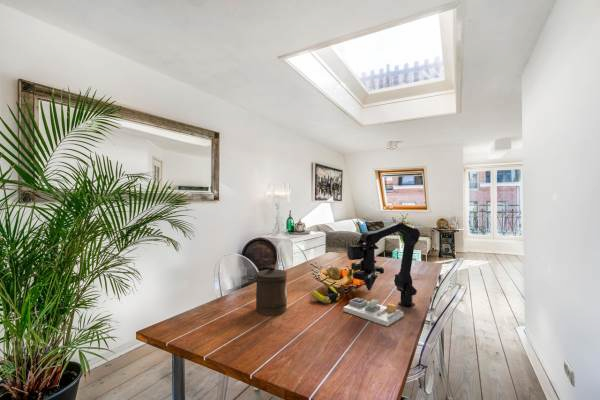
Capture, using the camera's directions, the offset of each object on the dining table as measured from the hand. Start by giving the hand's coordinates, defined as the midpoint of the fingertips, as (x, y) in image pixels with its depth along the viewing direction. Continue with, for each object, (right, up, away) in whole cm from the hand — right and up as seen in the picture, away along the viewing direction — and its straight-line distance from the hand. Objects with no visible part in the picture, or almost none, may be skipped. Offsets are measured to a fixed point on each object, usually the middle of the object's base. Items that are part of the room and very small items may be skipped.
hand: (369, 290), depth 139 cm
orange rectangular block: (+8, -8, -8) cm, 14 cm away
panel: (+1, -10, -5) cm, 11 cm away
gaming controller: (-19, -10, +13) cm, 25 cm away
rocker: (+1, -5, -5) cm, 7 cm away
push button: (-5, -7, +1) cm, 9 cm away
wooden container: (-48, -10, 0) cm, 49 cm away
